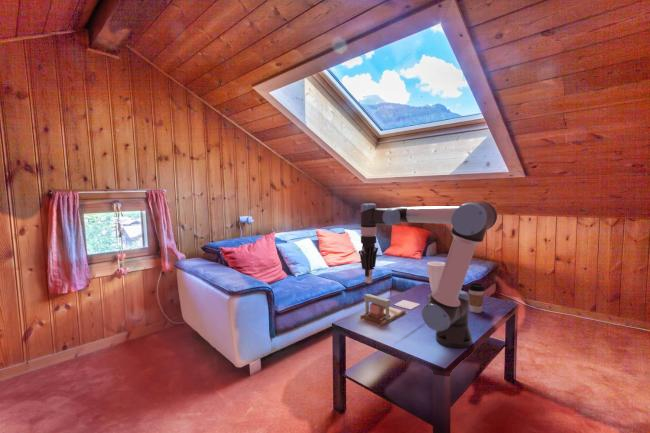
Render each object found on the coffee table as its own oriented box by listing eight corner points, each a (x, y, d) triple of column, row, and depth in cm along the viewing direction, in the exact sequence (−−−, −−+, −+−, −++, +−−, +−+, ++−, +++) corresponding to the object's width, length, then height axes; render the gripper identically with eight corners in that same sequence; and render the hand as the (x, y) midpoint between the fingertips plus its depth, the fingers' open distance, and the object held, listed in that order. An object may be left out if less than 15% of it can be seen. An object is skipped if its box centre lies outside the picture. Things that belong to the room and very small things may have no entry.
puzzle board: (380, 330, 158) (380, 323, 158) (357, 322, 168) (357, 315, 167) (408, 314, 176) (408, 308, 176) (386, 308, 186) (386, 302, 186)
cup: (434, 293, 211) (434, 260, 209) (449, 297, 202) (450, 263, 200) (422, 296, 205) (423, 263, 203) (438, 301, 195) (438, 266, 193)
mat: (410, 310, 183) (410, 309, 183) (393, 305, 191) (393, 304, 191) (420, 304, 191) (420, 304, 191) (403, 300, 199) (403, 299, 199)
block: (378, 321, 164) (378, 306, 164) (370, 319, 168) (370, 304, 167) (383, 318, 168) (383, 303, 167) (375, 316, 171) (375, 301, 171)
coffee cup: (465, 311, 180) (465, 284, 179) (470, 306, 186) (471, 281, 185) (481, 315, 175) (481, 287, 173) (486, 310, 181) (486, 284, 179)
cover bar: (386, 320, 162) (386, 301, 161) (364, 313, 171) (364, 295, 171) (390, 318, 164) (390, 299, 163) (367, 311, 174) (367, 293, 173)
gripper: (370, 233, 166) (370, 278, 168) (353, 236, 157) (354, 283, 159) (382, 234, 161) (382, 281, 163) (366, 237, 151) (366, 287, 154)
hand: (368, 282), depth 161 cm, fingers closed
